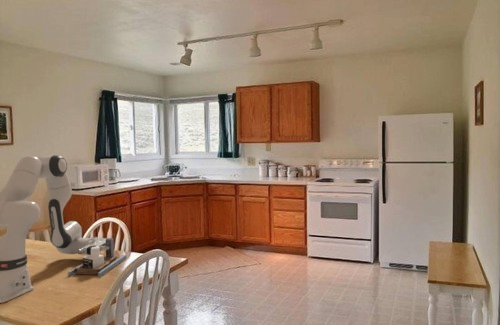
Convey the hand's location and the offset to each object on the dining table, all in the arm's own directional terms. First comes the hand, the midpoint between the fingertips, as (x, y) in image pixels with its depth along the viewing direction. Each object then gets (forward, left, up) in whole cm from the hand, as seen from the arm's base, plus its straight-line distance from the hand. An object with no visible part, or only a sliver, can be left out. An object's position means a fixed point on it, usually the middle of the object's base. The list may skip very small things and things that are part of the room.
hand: (111, 246), depth 211 cm
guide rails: (-12, +1, -7) cm, 14 cm away
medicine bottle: (-18, +1, -7) cm, 19 cm away
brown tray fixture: (-11, +1, -7) cm, 13 cm away
